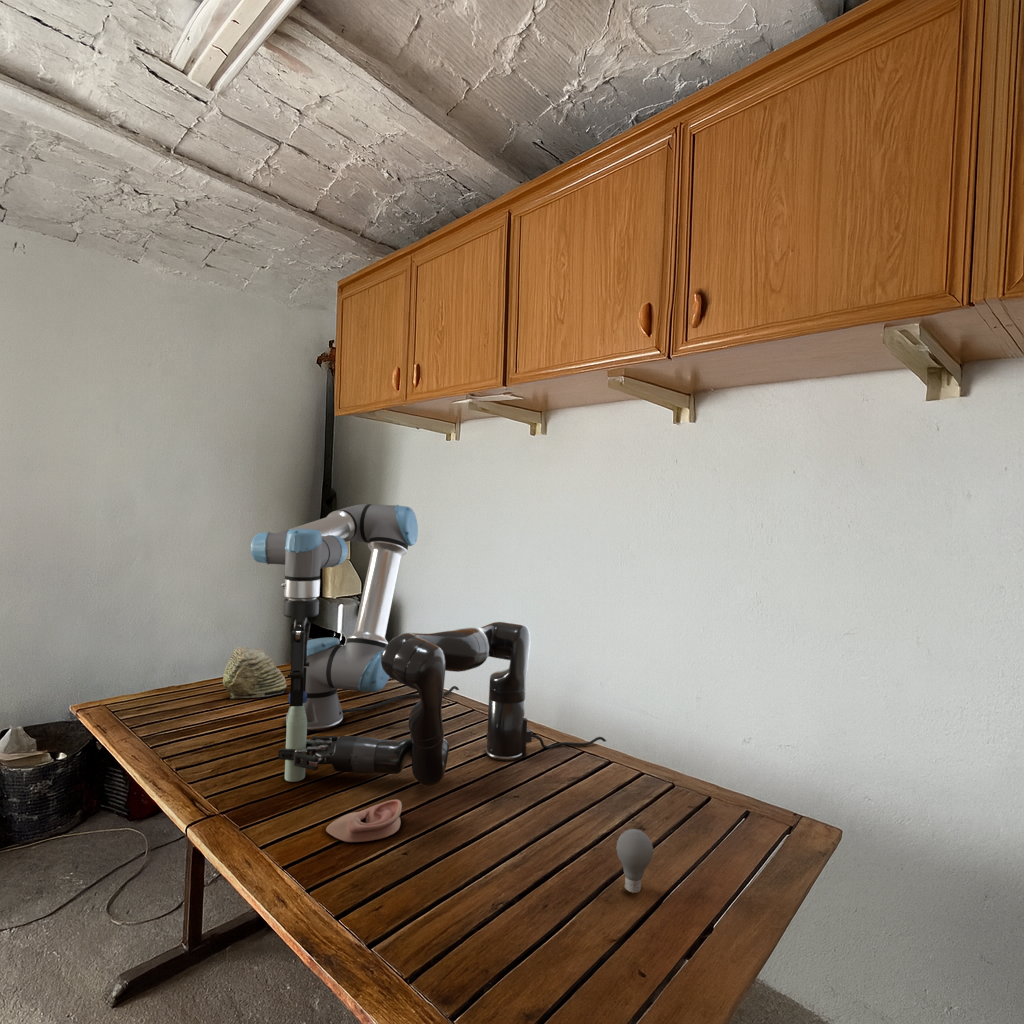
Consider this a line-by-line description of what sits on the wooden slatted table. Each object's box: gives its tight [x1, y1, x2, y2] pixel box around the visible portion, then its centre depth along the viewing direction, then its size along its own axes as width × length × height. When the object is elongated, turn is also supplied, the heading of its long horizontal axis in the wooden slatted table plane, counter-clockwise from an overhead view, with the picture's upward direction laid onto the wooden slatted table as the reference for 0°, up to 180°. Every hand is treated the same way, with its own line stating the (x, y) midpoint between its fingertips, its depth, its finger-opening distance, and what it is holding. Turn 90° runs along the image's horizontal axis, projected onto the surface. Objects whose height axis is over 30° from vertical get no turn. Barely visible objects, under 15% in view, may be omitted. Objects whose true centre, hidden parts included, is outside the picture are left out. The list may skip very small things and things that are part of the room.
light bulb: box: [615, 828, 654, 894], centre depth 106 cm, size 6×6×10 cm
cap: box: [288, 691, 307, 704], centre depth 142 cm, size 4×4×2 cm
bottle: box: [284, 703, 308, 783], centre depth 142 cm, size 4×4×18 cm
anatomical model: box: [325, 799, 403, 843], centre depth 122 cm, size 13×4×12 cm
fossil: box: [222, 646, 288, 699], centre depth 198 cm, size 9×18×15 cm, turn 132°
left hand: (297, 700), depth 142 cm, fingers open, 6 cm apart
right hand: (284, 749), depth 142 cm, fingers closed on bottle, 4 cm apart
